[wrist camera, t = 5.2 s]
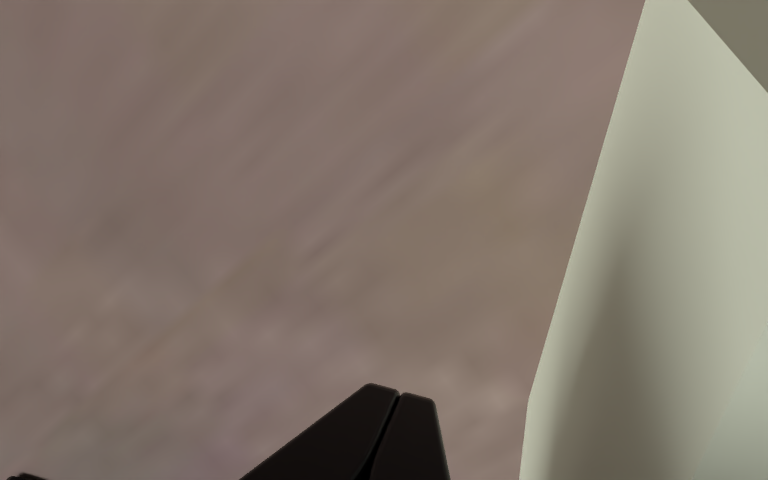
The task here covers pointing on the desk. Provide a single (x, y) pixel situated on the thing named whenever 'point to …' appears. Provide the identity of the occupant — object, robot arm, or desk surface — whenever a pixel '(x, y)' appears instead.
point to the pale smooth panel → (668, 268)
